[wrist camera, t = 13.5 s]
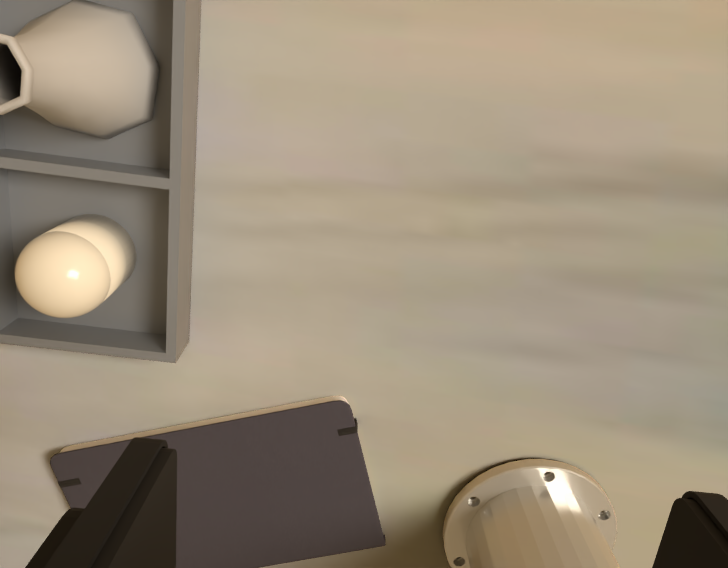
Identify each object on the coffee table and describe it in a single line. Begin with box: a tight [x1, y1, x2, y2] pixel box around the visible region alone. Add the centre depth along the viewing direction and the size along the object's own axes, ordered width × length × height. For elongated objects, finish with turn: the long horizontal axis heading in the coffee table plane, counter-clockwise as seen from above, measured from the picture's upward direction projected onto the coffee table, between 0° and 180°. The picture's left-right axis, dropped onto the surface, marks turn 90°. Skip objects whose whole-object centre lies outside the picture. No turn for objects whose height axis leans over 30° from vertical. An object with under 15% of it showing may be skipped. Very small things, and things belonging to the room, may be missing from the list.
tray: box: [0, 0, 201, 363], centre depth 33 cm, size 22×11×3 cm, turn 172°
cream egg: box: [15, 214, 137, 318], centre depth 33 cm, size 5×5×6 cm
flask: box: [0, 0, 159, 139], centre depth 28 cm, size 7×7×10 cm
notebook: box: [50, 396, 386, 568], centre depth 43 cm, size 13×2×21 cm
